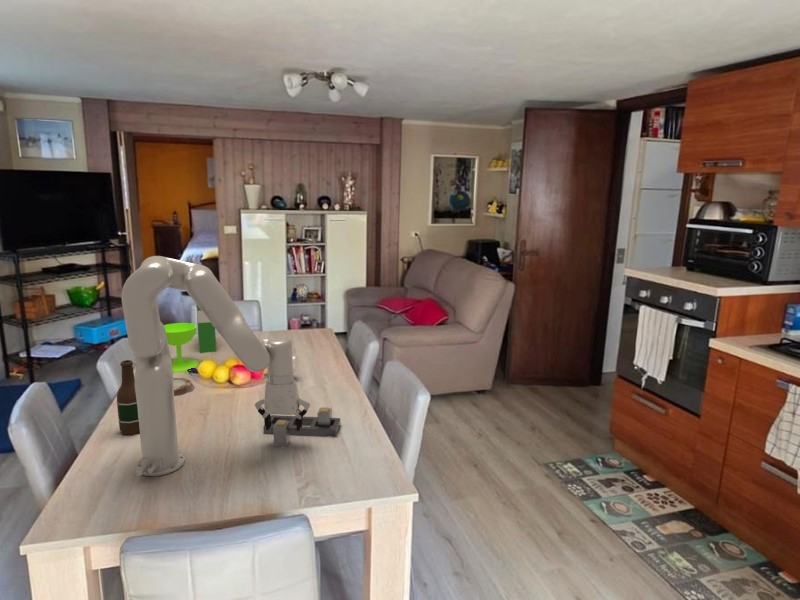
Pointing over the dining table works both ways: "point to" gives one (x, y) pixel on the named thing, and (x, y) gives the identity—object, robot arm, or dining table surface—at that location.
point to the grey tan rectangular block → (325, 417)
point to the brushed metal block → (281, 433)
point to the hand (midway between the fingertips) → (283, 428)
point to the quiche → (182, 386)
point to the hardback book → (205, 333)
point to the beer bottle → (127, 401)
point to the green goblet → (178, 337)
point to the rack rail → (308, 431)
